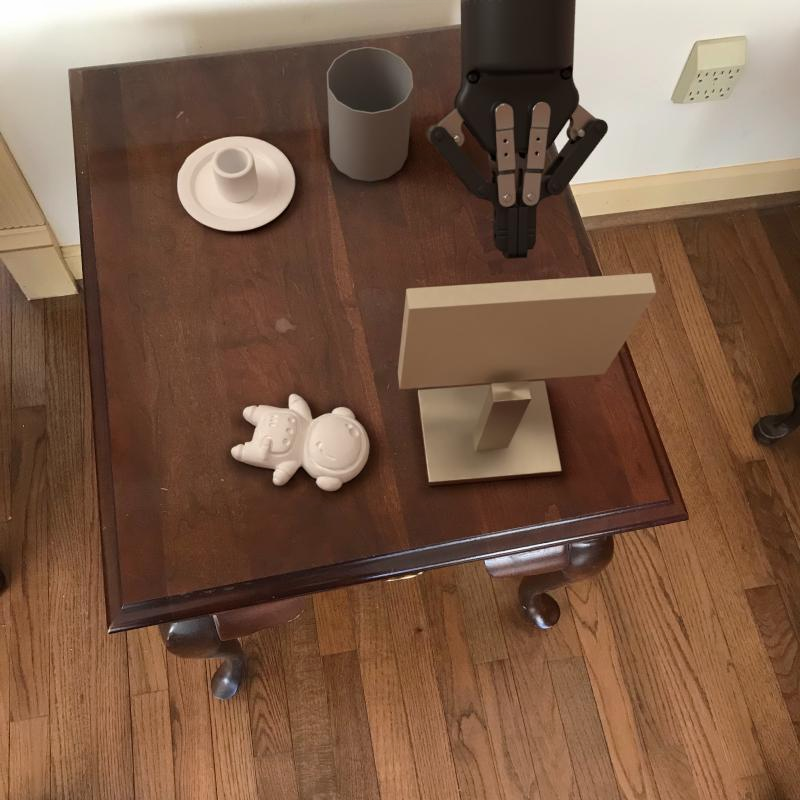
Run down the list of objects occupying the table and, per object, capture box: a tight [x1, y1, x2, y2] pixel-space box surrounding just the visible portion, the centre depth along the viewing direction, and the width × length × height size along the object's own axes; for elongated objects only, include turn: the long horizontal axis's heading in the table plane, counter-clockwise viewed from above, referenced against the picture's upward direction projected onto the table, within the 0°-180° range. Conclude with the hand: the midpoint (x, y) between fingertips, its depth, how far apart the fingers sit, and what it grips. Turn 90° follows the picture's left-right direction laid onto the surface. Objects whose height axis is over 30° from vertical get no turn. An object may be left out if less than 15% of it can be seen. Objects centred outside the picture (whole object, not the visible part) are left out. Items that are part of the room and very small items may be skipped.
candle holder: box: [176, 135, 296, 232], centre depth 85 cm, size 12×12×4 cm
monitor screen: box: [397, 272, 657, 390], centre depth 62 cm, size 2×17×13 cm, turn 96°
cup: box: [326, 46, 414, 183], centre depth 85 cm, size 8×8×10 cm
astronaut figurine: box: [230, 393, 370, 492], centre depth 74 cm, size 9×12×3 cm
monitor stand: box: [416, 380, 563, 487], centre depth 71 cm, size 9×12×12 cm
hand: (514, 256), depth 61 cm, fingers closed
